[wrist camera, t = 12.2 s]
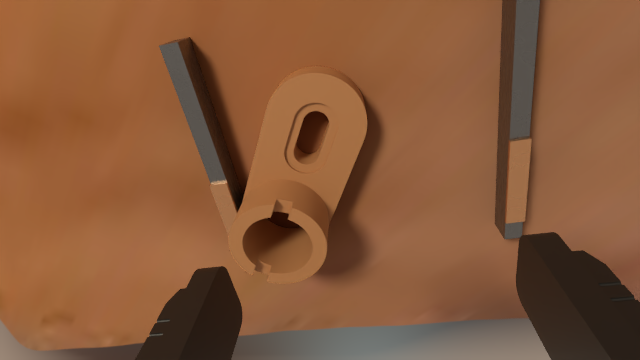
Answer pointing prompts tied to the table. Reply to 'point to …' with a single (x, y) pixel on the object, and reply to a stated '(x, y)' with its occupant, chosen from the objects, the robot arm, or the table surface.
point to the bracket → (298, 176)
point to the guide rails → (512, 122)
